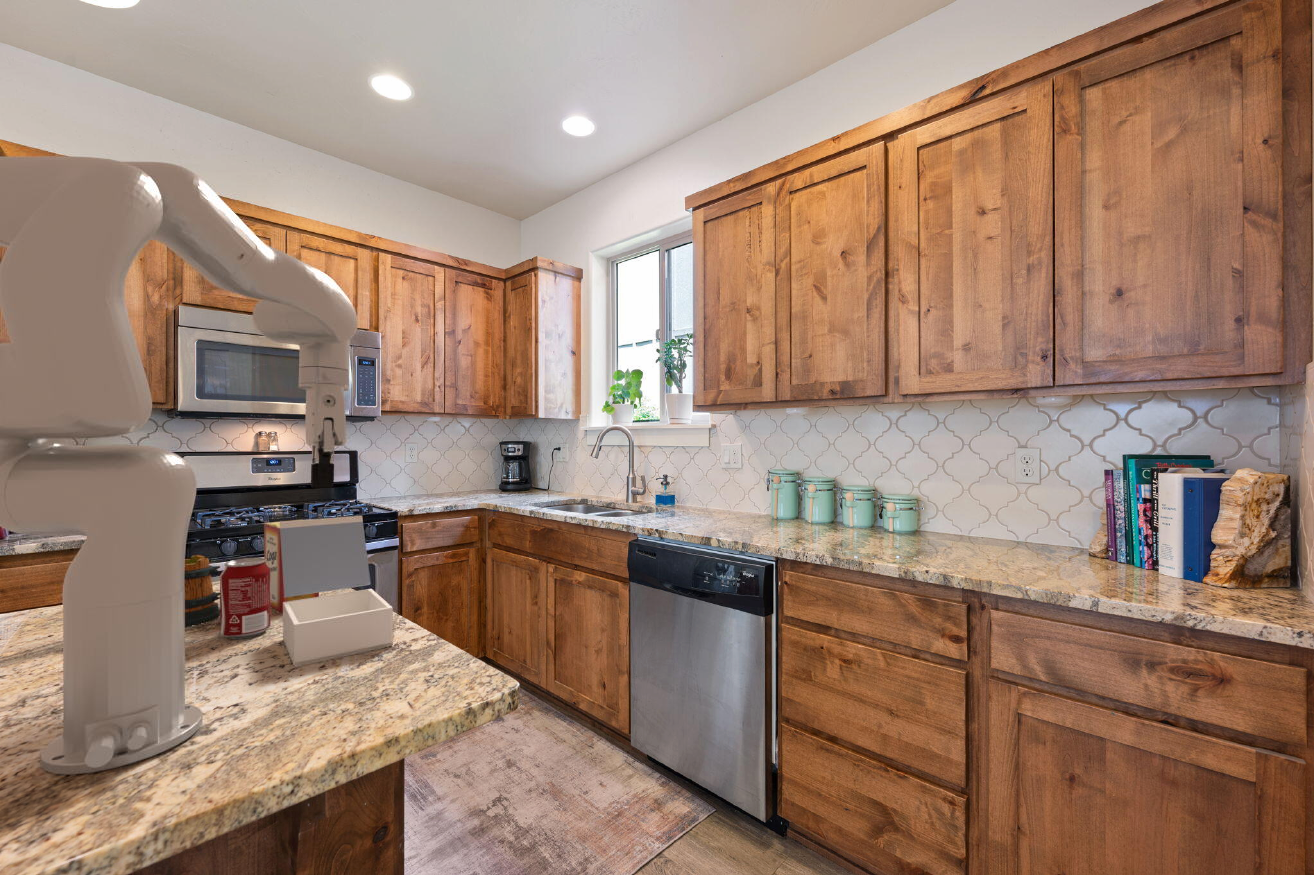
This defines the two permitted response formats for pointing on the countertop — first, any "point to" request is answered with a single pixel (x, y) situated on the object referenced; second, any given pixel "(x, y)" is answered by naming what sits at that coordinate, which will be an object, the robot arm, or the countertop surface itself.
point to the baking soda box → (277, 567)
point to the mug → (199, 591)
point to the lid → (323, 555)
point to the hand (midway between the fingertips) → (322, 487)
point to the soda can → (244, 598)
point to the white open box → (336, 626)
